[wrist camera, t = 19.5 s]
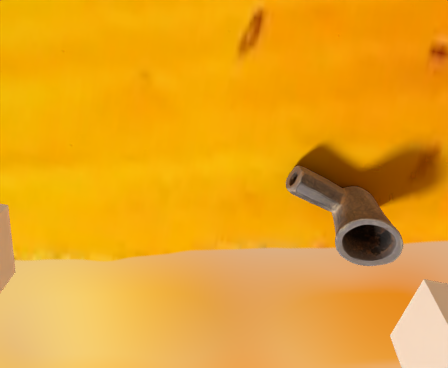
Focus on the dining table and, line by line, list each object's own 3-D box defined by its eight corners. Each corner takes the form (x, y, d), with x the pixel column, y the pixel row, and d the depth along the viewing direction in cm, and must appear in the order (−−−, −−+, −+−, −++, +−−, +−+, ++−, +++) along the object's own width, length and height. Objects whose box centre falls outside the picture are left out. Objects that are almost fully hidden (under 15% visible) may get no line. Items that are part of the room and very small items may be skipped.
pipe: (304, 148, 45) (314, 184, 38) (394, 197, 48) (419, 240, 41) (275, 188, 48) (279, 228, 41) (361, 232, 50) (379, 278, 44)
